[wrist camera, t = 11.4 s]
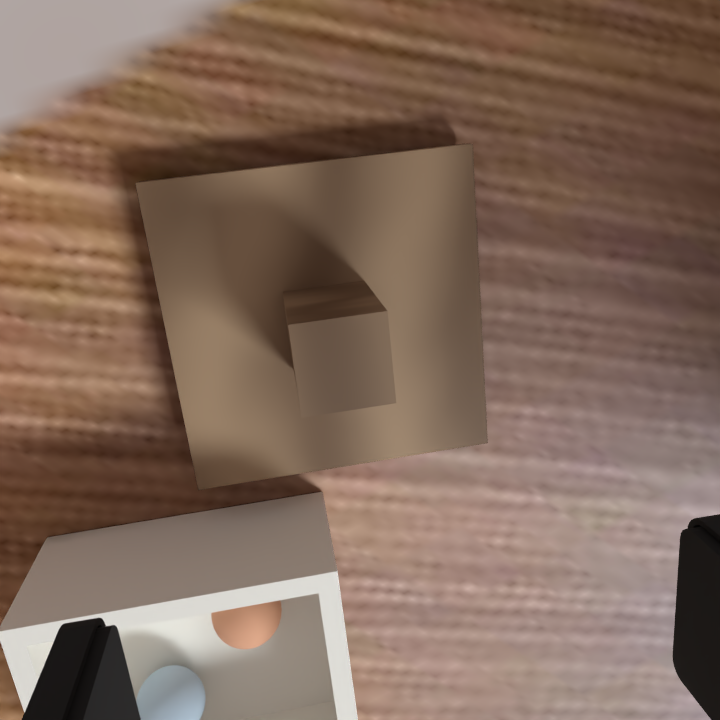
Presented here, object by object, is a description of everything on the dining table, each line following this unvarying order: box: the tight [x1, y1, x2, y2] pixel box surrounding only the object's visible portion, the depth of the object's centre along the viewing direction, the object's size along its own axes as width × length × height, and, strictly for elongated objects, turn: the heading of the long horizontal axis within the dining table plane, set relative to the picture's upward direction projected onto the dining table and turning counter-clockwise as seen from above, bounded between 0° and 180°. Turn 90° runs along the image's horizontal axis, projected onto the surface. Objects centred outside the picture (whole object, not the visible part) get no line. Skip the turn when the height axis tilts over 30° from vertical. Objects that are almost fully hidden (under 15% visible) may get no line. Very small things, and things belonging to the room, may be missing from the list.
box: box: [0, 492, 358, 720], centre depth 29 cm, size 12×12×6 cm
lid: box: [135, 144, 488, 490], centre depth 25 cm, size 12×12×6 cm
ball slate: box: [136, 665, 205, 720], centre depth 30 cm, size 3×3×3 cm
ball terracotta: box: [211, 600, 282, 649], centre depth 30 cm, size 3×3×3 cm
